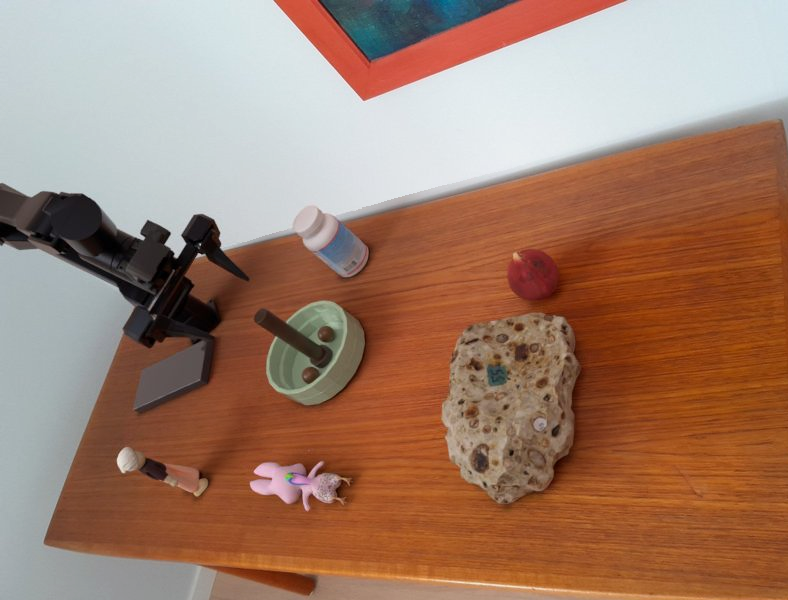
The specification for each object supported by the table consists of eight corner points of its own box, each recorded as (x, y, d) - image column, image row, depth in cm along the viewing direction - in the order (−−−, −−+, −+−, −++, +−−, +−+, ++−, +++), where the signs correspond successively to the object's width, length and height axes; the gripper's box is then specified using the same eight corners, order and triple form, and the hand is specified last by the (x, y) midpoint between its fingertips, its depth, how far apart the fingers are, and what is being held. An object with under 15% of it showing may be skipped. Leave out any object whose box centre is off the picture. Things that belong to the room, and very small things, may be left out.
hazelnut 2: (323, 338, 95) (311, 330, 94) (335, 327, 95) (324, 319, 93) (327, 348, 94) (316, 341, 92) (340, 338, 93) (329, 330, 92)
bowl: (279, 359, 99) (257, 345, 96) (349, 298, 97) (329, 282, 94) (302, 426, 90) (279, 414, 87) (380, 361, 88) (359, 345, 85)
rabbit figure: (362, 470, 82) (267, 458, 89) (338, 455, 78) (240, 443, 84) (348, 520, 80) (252, 504, 86) (322, 508, 75) (222, 491, 81)
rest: (149, 373, 117) (141, 369, 116) (214, 342, 111) (207, 338, 110) (140, 413, 112) (132, 410, 111) (207, 383, 106) (200, 379, 105)
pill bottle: (373, 240, 101) (325, 195, 93) (367, 273, 98) (317, 229, 90) (342, 250, 104) (293, 207, 96) (335, 282, 101) (284, 241, 93)
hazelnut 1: (307, 378, 93) (296, 371, 91) (320, 367, 93) (309, 360, 91) (312, 390, 91) (300, 383, 90) (325, 379, 91) (313, 371, 89)
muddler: (312, 358, 95) (248, 315, 85) (329, 343, 94) (266, 299, 85) (318, 372, 92) (253, 331, 83) (335, 358, 92) (271, 314, 83)
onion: (576, 275, 78) (549, 236, 72) (555, 317, 76) (525, 281, 70) (536, 267, 81) (507, 229, 76) (515, 307, 80) (484, 272, 74)
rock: (470, 352, 82) (446, 302, 74) (589, 345, 77) (577, 290, 70) (448, 513, 70) (417, 472, 62) (587, 515, 65) (573, 472, 58)
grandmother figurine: (217, 474, 94) (141, 444, 85) (205, 501, 93) (127, 473, 84) (186, 467, 99) (111, 437, 90) (174, 492, 98) (97, 465, 88)
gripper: (60, 300, 78) (182, 359, 79) (145, 172, 83) (259, 229, 84) (94, 322, 89) (201, 373, 90) (167, 207, 93) (268, 257, 94)
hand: (232, 308), depth 89 cm, fingers open, 9 cm apart
